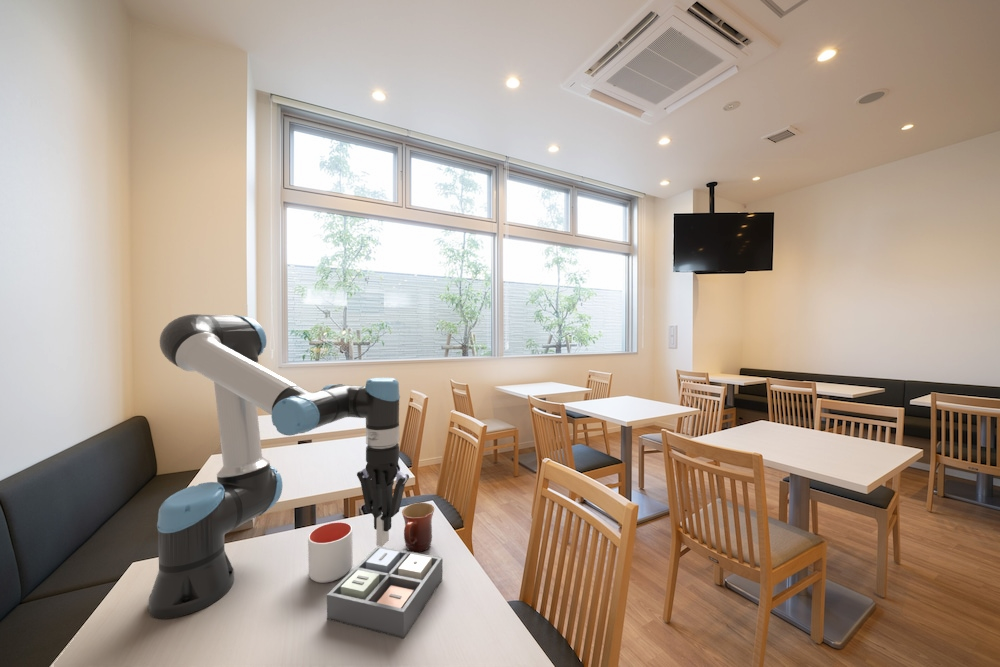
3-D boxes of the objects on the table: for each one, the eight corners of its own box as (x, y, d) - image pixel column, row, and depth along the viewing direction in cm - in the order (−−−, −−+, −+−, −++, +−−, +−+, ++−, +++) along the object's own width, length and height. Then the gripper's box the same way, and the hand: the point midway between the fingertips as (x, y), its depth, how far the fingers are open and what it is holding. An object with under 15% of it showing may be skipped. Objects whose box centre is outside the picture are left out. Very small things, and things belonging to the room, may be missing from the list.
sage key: (340, 602, 79) (340, 585, 79) (357, 584, 85) (357, 569, 84) (363, 607, 78) (363, 590, 78) (379, 589, 83) (379, 573, 83)
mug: (410, 536, 109) (410, 501, 109) (439, 539, 107) (438, 504, 107) (390, 561, 97) (390, 522, 97) (422, 565, 95) (421, 525, 95)
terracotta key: (376, 619, 77) (376, 602, 77) (391, 600, 82) (391, 584, 82) (400, 625, 75) (400, 608, 75) (413, 605, 81) (413, 589, 81)
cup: (352, 579, 90) (352, 538, 90) (306, 590, 87) (305, 547, 86) (352, 555, 100) (352, 518, 99) (310, 564, 96) (310, 526, 96)
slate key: (365, 576, 87) (365, 561, 87) (379, 561, 93) (379, 547, 93) (386, 580, 86) (386, 565, 86) (399, 565, 91) (399, 551, 91)
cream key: (398, 582, 85) (398, 567, 85) (410, 567, 90) (410, 553, 90) (420, 587, 84) (420, 571, 83) (431, 571, 89) (431, 557, 89)
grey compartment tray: (327, 619, 78) (326, 594, 78) (377, 566, 95) (377, 545, 95) (403, 638, 73) (403, 612, 73) (442, 578, 90) (442, 557, 90)
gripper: (348, 446, 86) (348, 547, 86) (398, 451, 82) (398, 557, 83) (369, 436, 93) (369, 530, 94) (415, 441, 89) (415, 539, 90)
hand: (382, 542), depth 88 cm, fingers closed
